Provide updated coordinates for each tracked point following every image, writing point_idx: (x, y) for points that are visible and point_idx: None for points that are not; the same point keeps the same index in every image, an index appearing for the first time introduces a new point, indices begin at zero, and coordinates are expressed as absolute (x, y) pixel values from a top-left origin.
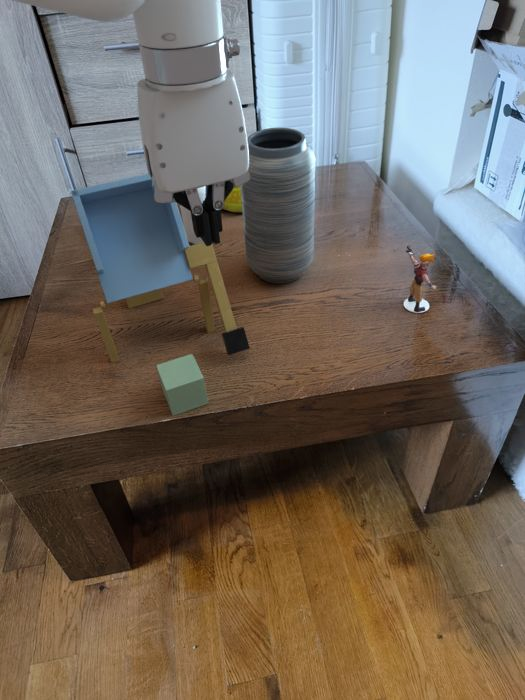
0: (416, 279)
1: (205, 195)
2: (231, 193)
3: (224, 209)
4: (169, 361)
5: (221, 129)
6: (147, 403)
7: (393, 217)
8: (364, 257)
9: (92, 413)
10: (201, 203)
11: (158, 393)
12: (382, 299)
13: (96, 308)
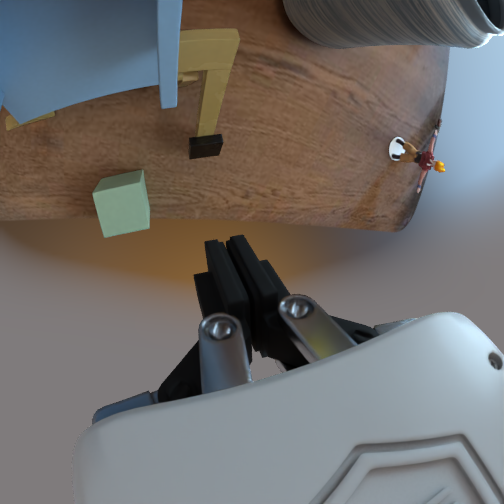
0: (417, 158)
1: (280, 316)
2: None
3: None
4: (109, 190)
5: None
6: (84, 194)
7: None
8: (401, 56)
9: (32, 197)
10: (250, 350)
11: (96, 181)
12: (382, 124)
13: (9, 117)
